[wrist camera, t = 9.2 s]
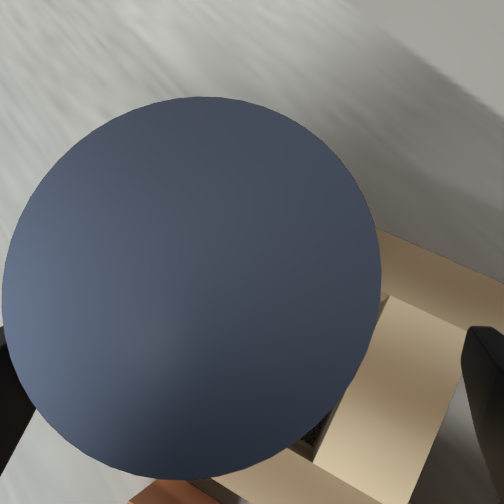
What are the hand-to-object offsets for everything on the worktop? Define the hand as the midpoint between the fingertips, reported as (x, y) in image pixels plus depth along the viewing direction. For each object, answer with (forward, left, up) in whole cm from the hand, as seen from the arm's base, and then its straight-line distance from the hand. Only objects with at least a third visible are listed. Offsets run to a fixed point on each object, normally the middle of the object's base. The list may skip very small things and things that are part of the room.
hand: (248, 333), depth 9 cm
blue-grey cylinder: (0, 0, -9) cm, 9 cm away
